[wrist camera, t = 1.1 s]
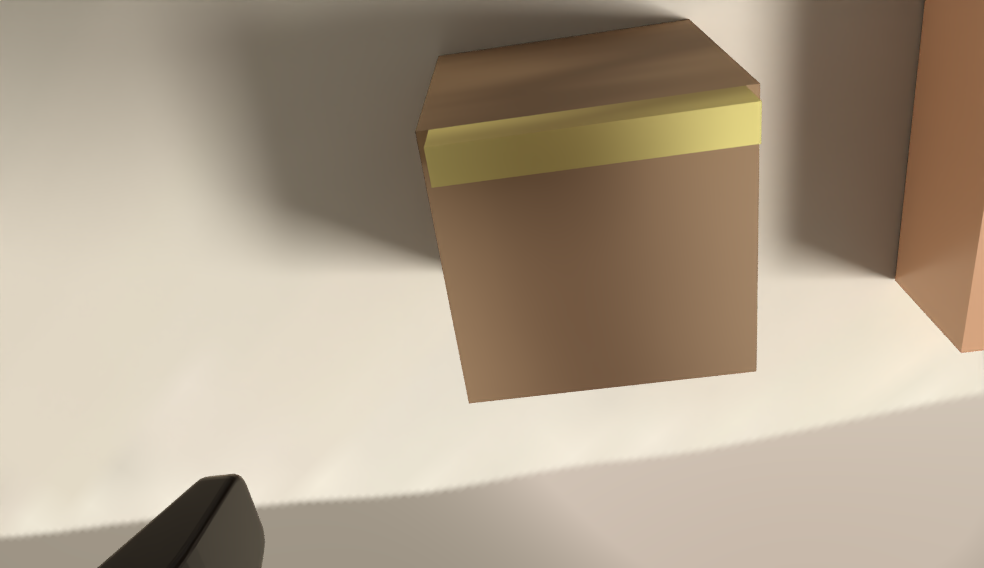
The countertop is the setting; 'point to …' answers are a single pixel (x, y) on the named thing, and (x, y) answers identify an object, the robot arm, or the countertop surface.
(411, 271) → the countertop surface
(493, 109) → the taped cardboard box
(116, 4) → the countertop surface
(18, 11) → the countertop surface
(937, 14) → the open tan box
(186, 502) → the robot arm
